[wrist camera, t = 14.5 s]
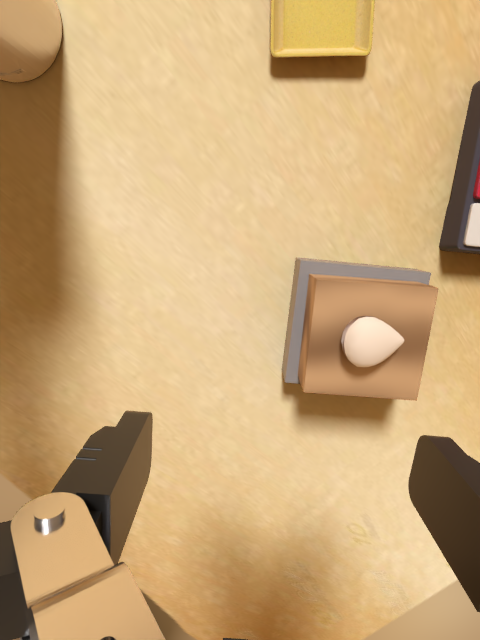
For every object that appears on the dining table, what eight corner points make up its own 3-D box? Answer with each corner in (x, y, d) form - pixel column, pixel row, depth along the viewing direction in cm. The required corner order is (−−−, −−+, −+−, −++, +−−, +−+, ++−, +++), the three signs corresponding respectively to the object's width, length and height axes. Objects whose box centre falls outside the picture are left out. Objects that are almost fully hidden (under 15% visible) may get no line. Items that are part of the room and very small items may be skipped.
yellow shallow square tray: (268, 66, 35) (270, 56, 33) (270, -47, 33) (271, -65, 31) (364, 65, 35) (371, 55, 33) (371, -48, 33) (379, -67, 31)
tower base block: (295, 257, 39) (300, 260, 35) (412, 268, 39) (430, 272, 35) (281, 368, 42) (284, 382, 38) (390, 378, 42) (405, 393, 38)
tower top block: (309, 273, 35) (316, 279, 31) (417, 281, 35) (438, 288, 31) (297, 375, 38) (303, 392, 34) (399, 382, 38) (416, 400, 34)
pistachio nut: (339, 313, 32) (347, 320, 30) (400, 311, 32) (412, 318, 29) (338, 362, 33) (345, 372, 31) (397, 360, 33) (409, 371, 30)
